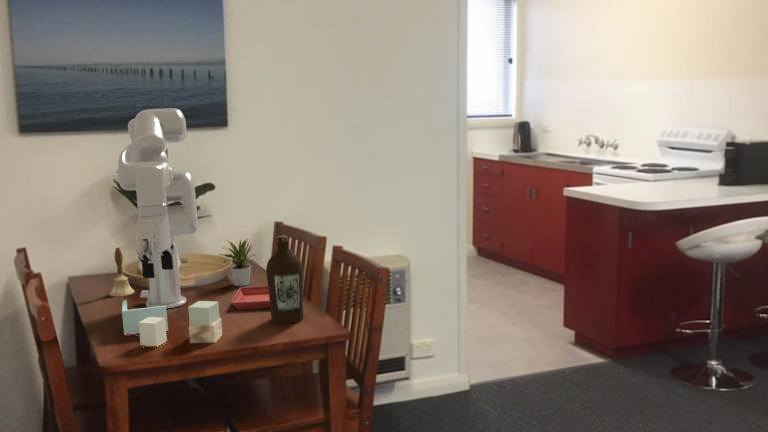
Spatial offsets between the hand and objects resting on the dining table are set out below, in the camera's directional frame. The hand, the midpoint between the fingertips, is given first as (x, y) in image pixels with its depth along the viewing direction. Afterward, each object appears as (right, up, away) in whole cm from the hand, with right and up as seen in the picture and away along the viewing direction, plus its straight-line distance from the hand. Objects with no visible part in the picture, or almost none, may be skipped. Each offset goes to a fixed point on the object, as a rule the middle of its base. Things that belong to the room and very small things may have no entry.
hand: (158, 273), depth 217 cm
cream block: (-2, -20, +2) cm, 20 cm away
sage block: (+12, -14, +4) cm, 18 cm away
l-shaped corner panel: (-8, -17, +17) cm, 26 cm away
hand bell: (-29, -11, +57) cm, 65 cm away
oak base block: (+12, -19, +5) cm, 23 cm away
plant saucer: (+23, -13, +40) cm, 48 cm away
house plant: (+11, -8, +65) cm, 66 cm away
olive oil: (+32, -15, +20) cm, 41 cm away
